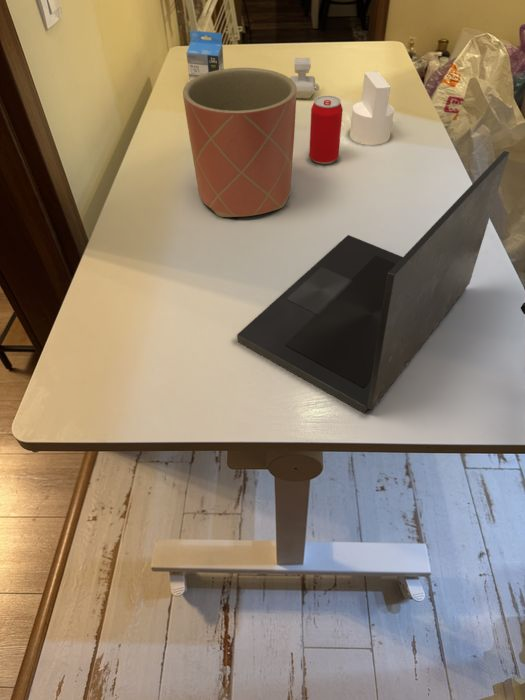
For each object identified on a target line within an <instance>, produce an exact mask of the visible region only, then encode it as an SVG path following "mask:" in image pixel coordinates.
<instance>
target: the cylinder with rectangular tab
mask: <svg viewBox="0 0 525 700" xmlns="http://www.w3.org/2000/svg"><path fill="white" fill-rule="evenodd" d="M390 93H391V86H390V84H389V83H388V82H387V80H386V79H385V78H384V77H383V75H382V74H381V73H380V72H379V71H366V72H364V75H363V84H362V92H361V99H360V101H358V102H356V103H354V104H353V106H352V110H351V117H350V127H349V139H351V140H352V141H354V142H355V143H358V144H360V145H361V144H362V145H364V146H365V145H366V146H377V145H382V144H385V143H387V142H388V141H389V140H390V137H391V131H392V125H393V119H394V113H395V108H394V106H392V105H391V104H390V103H389V101H390V100H389V99H390Z"/></svg>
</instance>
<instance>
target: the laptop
mask: <svg viewBox="0 0 525 700" xmlns="http://www.w3.org/2000/svg"><path fill="white" fill-rule="evenodd" d="M403 257H404V256H402V255H400V254H396V253H394V252H391V251H390V250H387V249H384V248H382V247H379V246H377V245H374V244H372V243H369V242H367V241H364V240H362V239H360V238H358V237H355V236H352V235H350V234H347V235H346V236H345V237H344V238H343V239H342V240H341V241H340V242H339V243H337V244H336V245H335V246H333V248H332V249H331V250H330V251H328V252H327V253H326V254H325V255H324V256H323V257H322V258H321V259H319V260H318V261H317V262H316V263H315V264H314V265H313V266H311V267H310V268H309V269H308V270H307V271H306V272H305V273H304V274H303V275H301V277H299V278H298V279H297V280H296V281H295V282H294V283H293V284H291V285H290V287H288V288H287V289H286V290H285V291H284V292H283V293H282V294H280V295H279V296H278V297H277V298H276V299H274V301H273V302H271V304H269V305H268V306H266V308H264V310H262V312H261V313H259V314H258V315H257V316H256V317H255V318H253V320H251V322H249V323H248V324H247V325H246V326H245V327H244V328H242V330H241V331H239V332H238V333H237V334H236V337H237V338H236V340H237V343H239V344H241V345H242V346H244V347H246V348H248V349H250V350H251V351H253V352H255V353H257V354H258V355H260V356H262V357H264V358H266V359H267V360H269V361H271V362H273V363H274V364H276V365H277V366H279V367H282V368H283V369H285V370H286V371H289V372H290V373H292V374H293V375H296V376H297V377H299V378H301V379H303V380H305V381H307V383H309V384H311V385H313V386H314V387H316V388H318V389H320V390H322V391H324V392H325V393H327V394H328V395H330V396H333V397H334V398H336V399H338V400H339V401H342V402H343V403H344V404H347V405H349V406H350V407H351V408H354V409H356V410H357V411H359V412H361V413H362V414H366V412H367V411H368V410H369V408H367V404H368V397H369V391H370V385H371V378H372V372H373V365H374V359H375V353H376V346H377V340H378V334H379V327H380V321H381V315H382V308H383V302H384V295H385V289H386V283H387V276H388V272H389V271H390V270H391V269H392V268H393V267H394V266H395V265H396V264H397V263H398V262H399V261H400V260H401V259H402V258H403Z"/></svg>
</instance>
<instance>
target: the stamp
mask: <svg viewBox="0 0 525 700" xmlns="http://www.w3.org/2000/svg"><path fill="white" fill-rule="evenodd" d="M310 70H311V57H294V73H295V74H297V75H290V76H289V78H290V79H291V80H293V82H294V83H295V85H296V88H297V95H296V99H310V98H311V97H312V95H313V94H314V93H315V92H316V91H318V90H320V85H319V84H318V83H316V77H315V76H313V75H307V74H309V73H310Z"/></svg>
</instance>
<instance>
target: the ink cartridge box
mask: <svg viewBox="0 0 525 700" xmlns="http://www.w3.org/2000/svg"><path fill="white" fill-rule="evenodd" d="M189 33H190V34H189V35H190V42H189V44H188V48H187V51H186V60H187V61H186V63H187V70H188V79H189V82H190V81H191V80H192V79H194V78H196V77H198V76H200V75H203V74H205V73H208V72H212V71H216V70H222V69H225V68H224V67H225V66H224V65H225V63H224V51H223V50H224V48H223V34H222V32H213V31H204V30H203V31H201V30H189ZM205 36H206V37H207V38H210V39H205ZM203 38H204V39H203Z"/></svg>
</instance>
